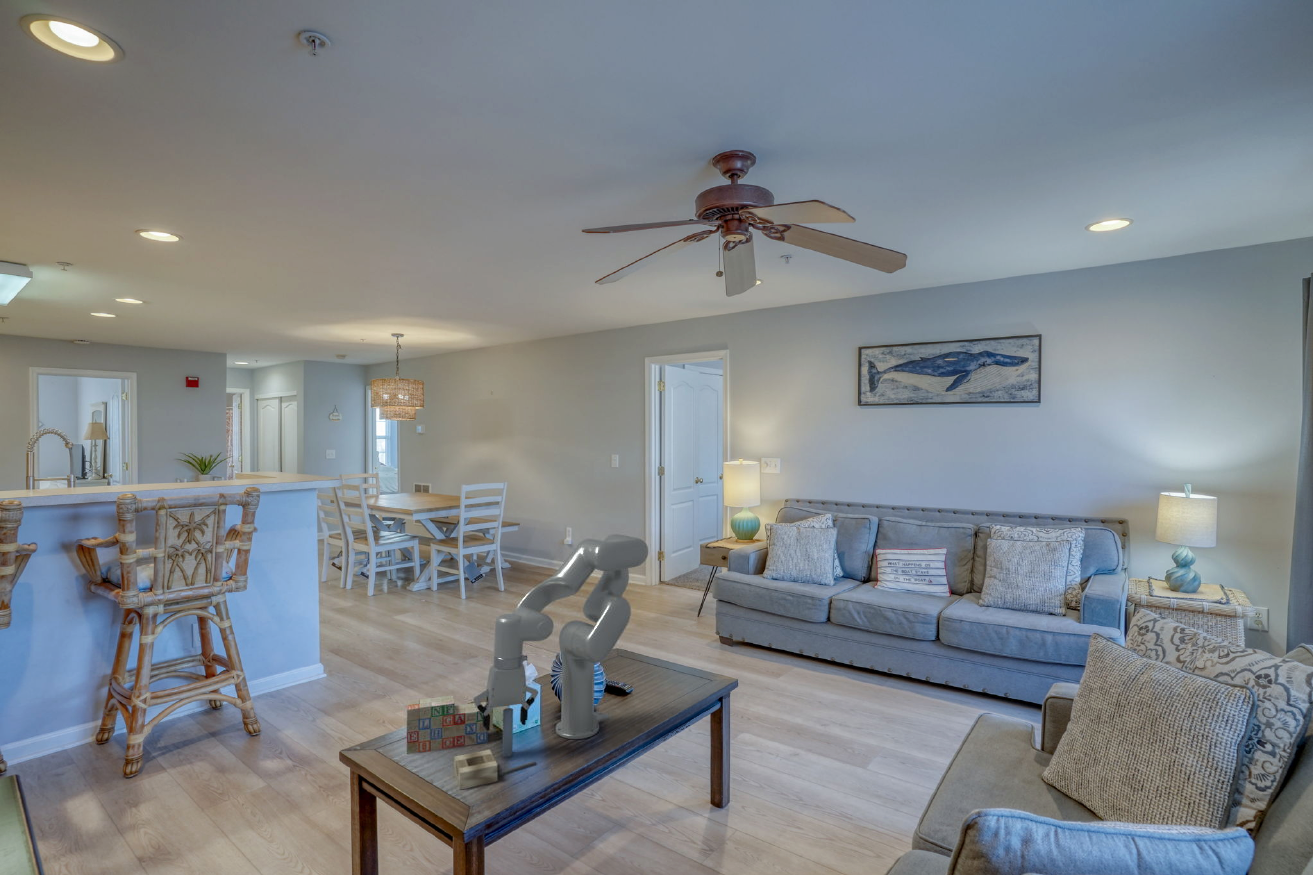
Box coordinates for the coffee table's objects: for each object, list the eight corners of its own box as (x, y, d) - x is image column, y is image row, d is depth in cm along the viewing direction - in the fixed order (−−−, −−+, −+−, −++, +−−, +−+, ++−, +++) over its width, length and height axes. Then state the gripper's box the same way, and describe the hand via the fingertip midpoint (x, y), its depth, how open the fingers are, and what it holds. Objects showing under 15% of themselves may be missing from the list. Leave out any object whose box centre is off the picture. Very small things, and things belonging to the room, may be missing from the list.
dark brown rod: (534, 763, 167) (534, 761, 167) (536, 764, 166) (536, 762, 166) (498, 774, 161) (498, 772, 161) (499, 775, 160) (499, 773, 160)
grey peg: (511, 751, 173) (511, 707, 173) (513, 755, 171) (514, 710, 171) (501, 753, 172) (502, 708, 172) (503, 757, 170) (504, 712, 170)
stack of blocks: (486, 733, 184) (486, 690, 184) (487, 743, 178) (488, 699, 178) (406, 744, 177) (407, 700, 177) (405, 754, 171) (406, 708, 171)
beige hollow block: (489, 764, 166) (489, 749, 166) (497, 781, 158) (497, 765, 158) (453, 772, 162) (454, 756, 162) (459, 789, 154) (460, 773, 154)
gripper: (535, 654, 179) (532, 715, 178) (472, 660, 171) (469, 725, 170) (543, 662, 172) (540, 726, 171) (478, 669, 164) (474, 736, 164)
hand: (505, 725), depth 171 cm, fingers open, 9 cm apart
